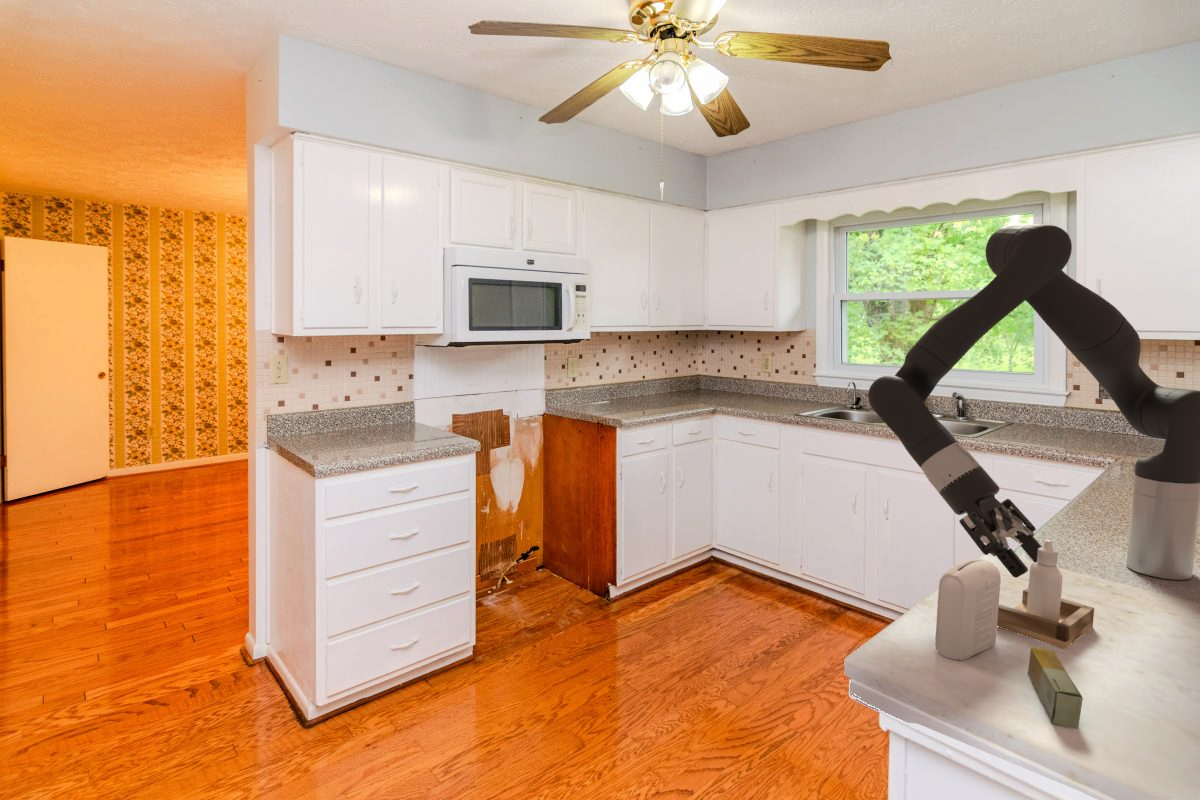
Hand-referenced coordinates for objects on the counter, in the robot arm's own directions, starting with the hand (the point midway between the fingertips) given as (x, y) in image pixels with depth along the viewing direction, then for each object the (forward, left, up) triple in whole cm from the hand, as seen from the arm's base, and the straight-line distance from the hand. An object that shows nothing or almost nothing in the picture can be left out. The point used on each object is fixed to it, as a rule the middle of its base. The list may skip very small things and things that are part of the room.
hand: (1033, 568), depth 99 cm
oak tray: (0, +2, -8) cm, 9 cm away
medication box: (+21, +10, -9) cm, 25 cm away
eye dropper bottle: (0, +2, -8) cm, 8 cm away
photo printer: (+16, -2, -9) cm, 18 cm away
